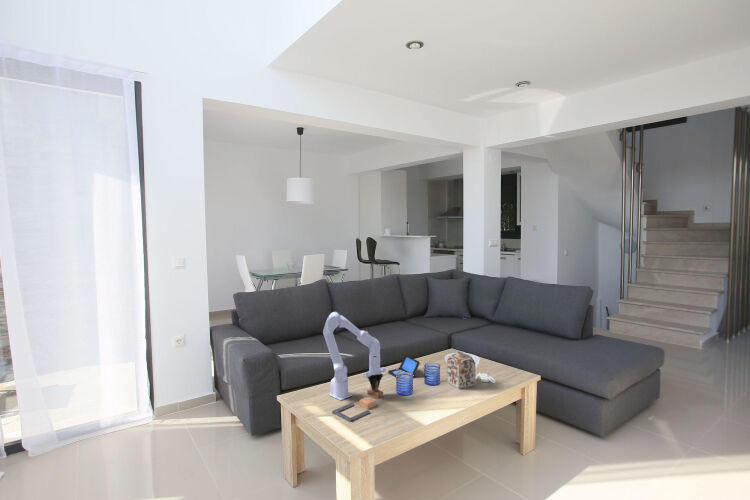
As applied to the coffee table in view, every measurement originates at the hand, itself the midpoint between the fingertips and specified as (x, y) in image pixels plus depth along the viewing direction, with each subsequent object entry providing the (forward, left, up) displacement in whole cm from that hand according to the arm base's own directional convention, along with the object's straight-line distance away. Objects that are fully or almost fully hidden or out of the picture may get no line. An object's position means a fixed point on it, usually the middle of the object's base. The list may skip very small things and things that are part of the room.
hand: (375, 388), depth 218 cm
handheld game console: (-9, +33, -4) cm, 34 cm away
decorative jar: (+24, +44, -4) cm, 50 cm away
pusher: (0, 0, -4) cm, 4 cm away
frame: (+6, -22, -4) cm, 23 cm away
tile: (+6, -11, -4) cm, 13 cm away
